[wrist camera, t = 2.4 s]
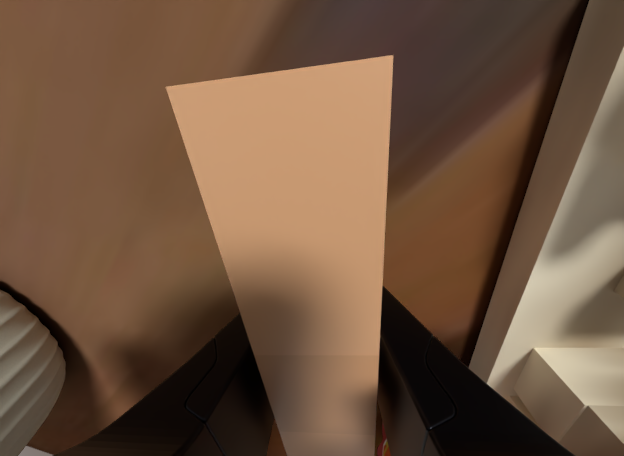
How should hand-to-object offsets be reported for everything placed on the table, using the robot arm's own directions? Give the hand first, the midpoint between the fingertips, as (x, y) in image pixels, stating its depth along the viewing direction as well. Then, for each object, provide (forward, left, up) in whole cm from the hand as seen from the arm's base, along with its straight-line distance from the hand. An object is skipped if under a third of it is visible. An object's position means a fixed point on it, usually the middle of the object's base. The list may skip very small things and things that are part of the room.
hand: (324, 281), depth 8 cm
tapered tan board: (0, 0, -1) cm, 1 cm away
